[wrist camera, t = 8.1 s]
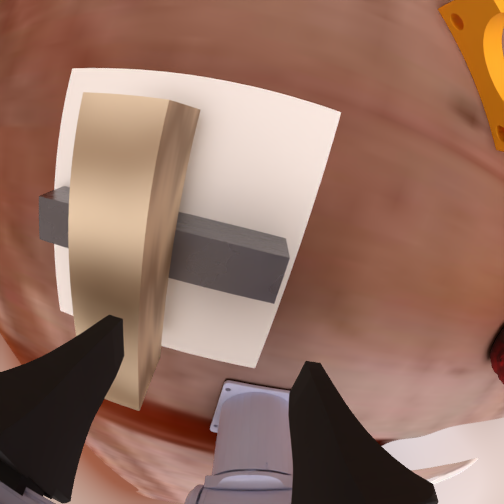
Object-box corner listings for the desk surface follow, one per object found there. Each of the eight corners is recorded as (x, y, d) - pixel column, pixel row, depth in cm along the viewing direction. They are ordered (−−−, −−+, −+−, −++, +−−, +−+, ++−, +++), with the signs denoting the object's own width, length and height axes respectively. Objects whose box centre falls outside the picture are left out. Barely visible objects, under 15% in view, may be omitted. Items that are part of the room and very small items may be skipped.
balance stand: (255, 360, 24) (253, 395, 20) (65, 304, 23) (43, 329, 19) (337, 113, 16) (356, 109, 12) (80, 70, 15) (46, 63, 11)
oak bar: (160, 357, 19) (139, 410, 14) (115, 342, 19) (87, 391, 14) (200, 109, 13) (169, 99, 8) (136, 100, 13) (83, 92, 8)
